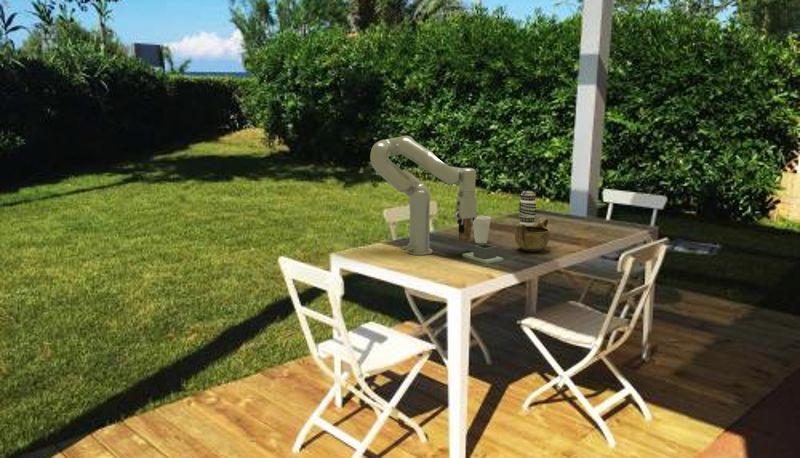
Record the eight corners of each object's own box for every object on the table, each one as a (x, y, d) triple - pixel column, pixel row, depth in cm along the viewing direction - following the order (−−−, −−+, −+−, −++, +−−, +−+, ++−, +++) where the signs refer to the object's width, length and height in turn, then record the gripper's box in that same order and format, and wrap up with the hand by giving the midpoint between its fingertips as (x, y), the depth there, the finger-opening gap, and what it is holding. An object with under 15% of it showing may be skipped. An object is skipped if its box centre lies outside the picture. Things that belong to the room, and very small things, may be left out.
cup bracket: (486, 263, 302) (487, 250, 301) (462, 256, 316) (462, 243, 314) (503, 260, 308) (503, 247, 306) (478, 253, 321) (478, 240, 320)
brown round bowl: (530, 244, 341) (532, 215, 338) (559, 249, 329) (560, 220, 326) (503, 250, 326) (504, 220, 323) (532, 257, 314) (533, 226, 311)
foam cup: (493, 243, 343) (494, 218, 340) (476, 244, 340) (477, 219, 337) (485, 239, 352) (486, 215, 349) (469, 240, 349) (469, 216, 346)
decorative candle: (517, 239, 353) (519, 192, 348) (518, 235, 362) (520, 189, 357) (534, 240, 351) (536, 193, 346) (535, 236, 360) (537, 190, 354)
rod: (463, 242, 317) (465, 213, 314) (458, 241, 320) (459, 212, 318) (470, 241, 320) (471, 213, 317) (464, 240, 323) (466, 211, 320)
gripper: (458, 196, 308) (456, 235, 311) (485, 194, 317) (483, 231, 321) (448, 194, 314) (446, 232, 317) (474, 192, 323) (472, 229, 327)
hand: (464, 231), depth 319 cm, fingers closed on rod, 4 cm apart
